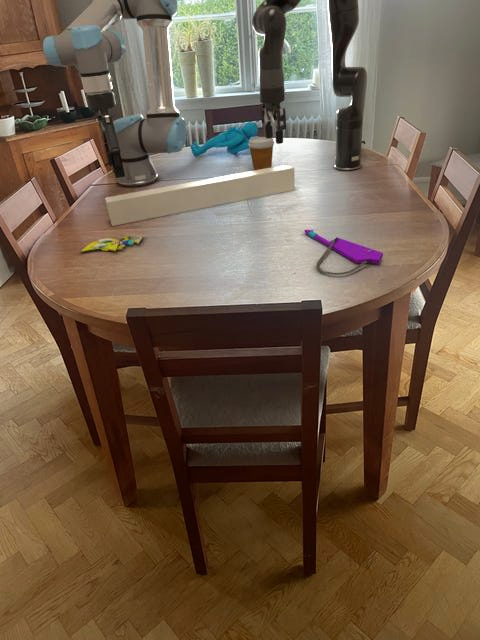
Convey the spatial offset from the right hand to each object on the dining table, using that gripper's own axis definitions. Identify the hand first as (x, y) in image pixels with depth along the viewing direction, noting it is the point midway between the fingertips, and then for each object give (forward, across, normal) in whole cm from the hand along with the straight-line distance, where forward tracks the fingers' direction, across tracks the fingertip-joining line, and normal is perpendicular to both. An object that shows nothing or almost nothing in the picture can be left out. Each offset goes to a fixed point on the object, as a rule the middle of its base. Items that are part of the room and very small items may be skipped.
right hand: (274, 140), depth 153 cm
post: (+16, -1, +25) cm, 30 cm away
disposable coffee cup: (+17, +21, -4) cm, 27 cm away
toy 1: (+15, -19, +57) cm, 62 cm away
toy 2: (+17, +57, 0) cm, 60 cm away
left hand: (0, 0, +50) cm, 51 cm away
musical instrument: (+16, -53, +8) cm, 56 cm away
